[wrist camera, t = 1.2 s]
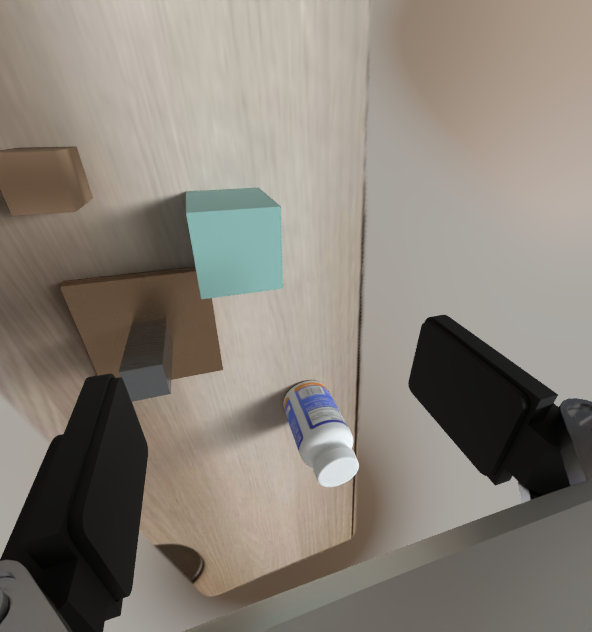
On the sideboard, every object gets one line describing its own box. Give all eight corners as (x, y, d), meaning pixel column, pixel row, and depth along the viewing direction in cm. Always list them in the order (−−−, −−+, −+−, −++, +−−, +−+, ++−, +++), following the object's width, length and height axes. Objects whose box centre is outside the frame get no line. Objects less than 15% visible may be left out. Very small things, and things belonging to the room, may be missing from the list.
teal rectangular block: (185, 191, 22) (185, 213, 17) (258, 187, 24) (280, 206, 18) (197, 261, 25) (201, 299, 20) (262, 254, 26) (282, 288, 21)
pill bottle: (305, 419, 38) (337, 497, 30) (272, 405, 35) (297, 487, 27) (336, 389, 37) (377, 461, 29) (304, 371, 34) (341, 446, 26)
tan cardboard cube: (19, 147, 19) (-17, 152, 15) (76, 146, 19) (54, 151, 16) (40, 201, 20) (12, 215, 17) (92, 198, 21) (75, 211, 18)
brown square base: (64, 281, 23) (23, 333, 17) (206, 265, 25) (212, 306, 20) (107, 384, 28) (87, 450, 22) (221, 363, 30) (230, 418, 25)
